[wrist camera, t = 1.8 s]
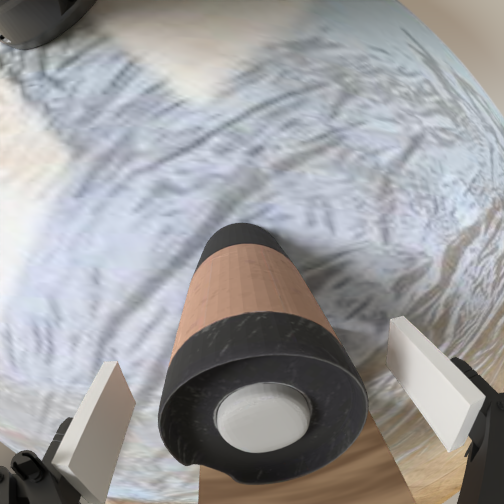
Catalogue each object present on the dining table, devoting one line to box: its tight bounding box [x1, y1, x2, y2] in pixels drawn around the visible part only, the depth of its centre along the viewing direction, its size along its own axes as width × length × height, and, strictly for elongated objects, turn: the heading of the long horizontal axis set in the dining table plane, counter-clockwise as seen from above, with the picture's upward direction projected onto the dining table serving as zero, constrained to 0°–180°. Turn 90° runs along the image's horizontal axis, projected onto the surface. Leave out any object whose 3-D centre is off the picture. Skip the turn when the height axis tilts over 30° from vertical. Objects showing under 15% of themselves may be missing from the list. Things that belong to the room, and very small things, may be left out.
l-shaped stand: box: [198, 335, 416, 504], centre depth 22 cm, size 13×20×22 cm, turn 98°
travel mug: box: [158, 223, 368, 485], centre depth 19 cm, size 8×8×20 cm
